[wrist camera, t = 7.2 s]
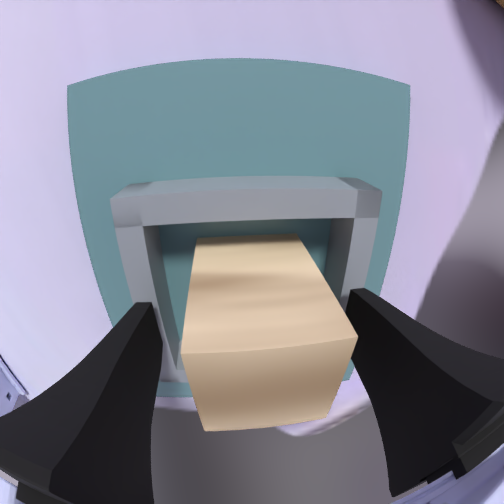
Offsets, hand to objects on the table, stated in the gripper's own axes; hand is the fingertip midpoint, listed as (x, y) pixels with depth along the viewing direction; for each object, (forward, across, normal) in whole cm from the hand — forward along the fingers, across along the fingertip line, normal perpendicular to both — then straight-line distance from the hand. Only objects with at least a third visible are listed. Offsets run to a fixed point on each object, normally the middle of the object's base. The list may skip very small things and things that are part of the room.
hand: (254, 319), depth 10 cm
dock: (+4, 0, 0) cm, 4 cm away
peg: (+3, 0, 0) cm, 3 cm away
